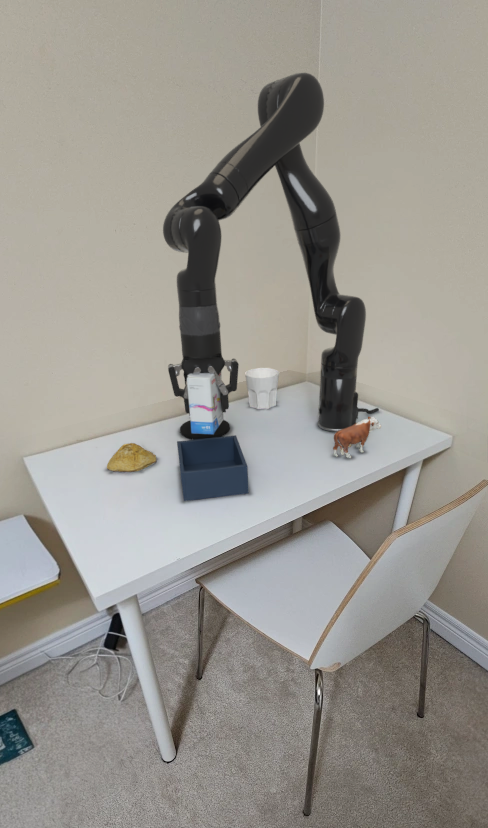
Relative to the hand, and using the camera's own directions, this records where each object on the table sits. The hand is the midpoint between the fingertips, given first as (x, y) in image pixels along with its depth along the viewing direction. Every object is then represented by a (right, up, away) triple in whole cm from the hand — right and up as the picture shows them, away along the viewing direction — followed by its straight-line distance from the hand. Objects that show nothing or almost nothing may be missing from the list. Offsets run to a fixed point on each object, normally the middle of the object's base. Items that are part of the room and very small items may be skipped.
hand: (207, 412), depth 98 cm
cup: (+13, +10, +47) cm, 50 cm away
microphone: (-3, 0, +32) cm, 32 cm away
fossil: (-19, -10, +16) cm, 27 cm away
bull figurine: (+34, -7, +17) cm, 39 cm away
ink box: (0, -3, +2) cm, 3 cm away
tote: (+1, -14, +8) cm, 16 cm away
